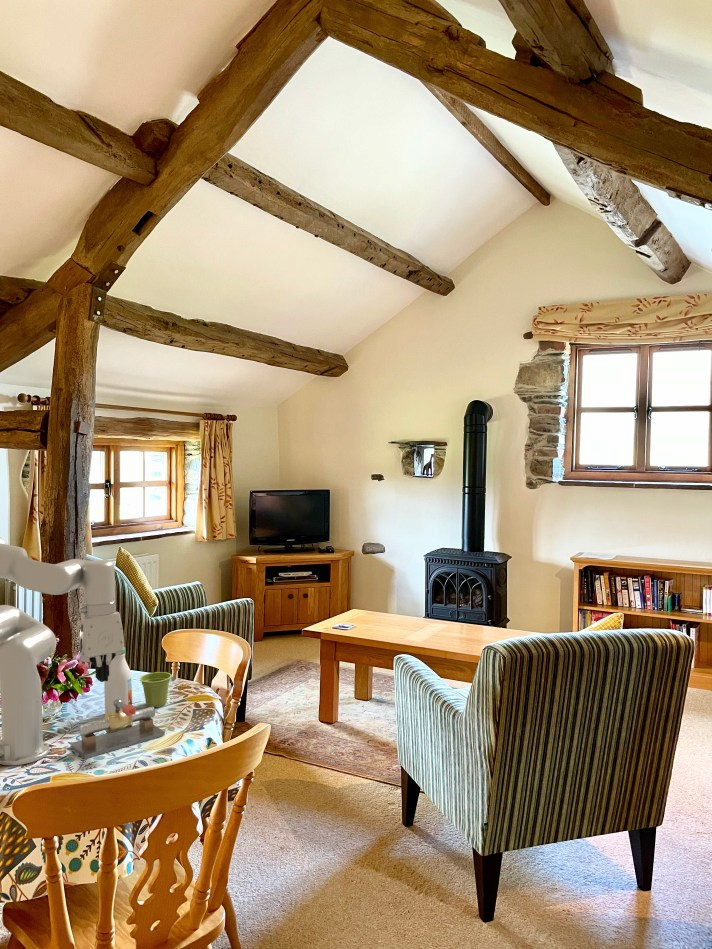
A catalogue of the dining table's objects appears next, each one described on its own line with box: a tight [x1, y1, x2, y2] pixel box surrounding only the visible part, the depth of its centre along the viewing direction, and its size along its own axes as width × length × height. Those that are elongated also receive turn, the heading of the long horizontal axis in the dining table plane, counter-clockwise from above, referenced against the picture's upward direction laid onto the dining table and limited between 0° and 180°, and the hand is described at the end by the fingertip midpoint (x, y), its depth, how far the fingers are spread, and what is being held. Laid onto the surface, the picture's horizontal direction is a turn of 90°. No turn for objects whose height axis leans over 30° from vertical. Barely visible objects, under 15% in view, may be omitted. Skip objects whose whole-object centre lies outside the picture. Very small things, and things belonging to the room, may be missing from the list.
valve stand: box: [70, 706, 166, 760], centre depth 190 cm, size 22×10×10 cm, turn 131°
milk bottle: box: [103, 646, 133, 715], centre depth 210 cm, size 8×8×20 cm
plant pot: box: [139, 671, 172, 708], centre depth 218 cm, size 9×9×9 cm
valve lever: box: [113, 699, 137, 716], centre depth 187 cm, size 10×2×2 cm, turn 41°
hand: (102, 680), depth 180 cm, fingers closed
